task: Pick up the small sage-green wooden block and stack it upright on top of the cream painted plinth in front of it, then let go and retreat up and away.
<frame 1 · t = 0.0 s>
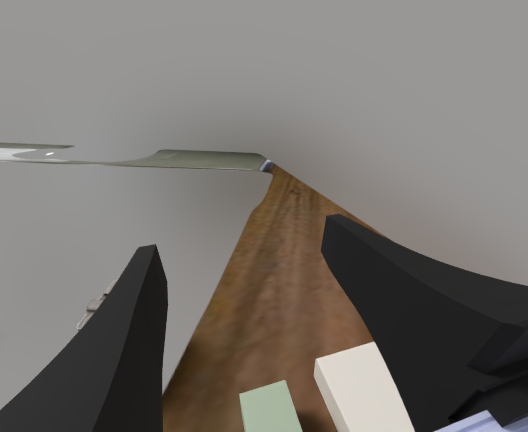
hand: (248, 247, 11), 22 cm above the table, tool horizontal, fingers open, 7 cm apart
lighter: (130, 364, 29), on the table
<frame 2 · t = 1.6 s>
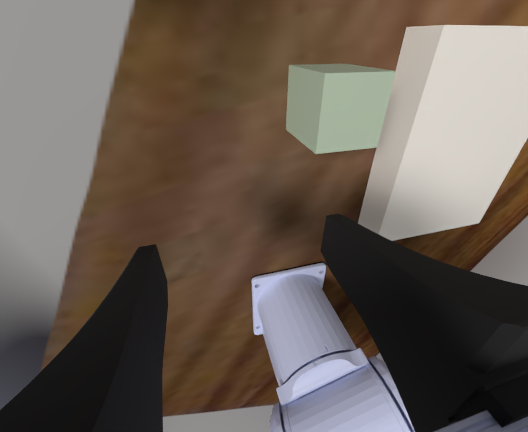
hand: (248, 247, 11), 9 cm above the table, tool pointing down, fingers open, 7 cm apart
base plinth: (436, 140, 23), on the table
green block: (314, 97, 18), on the table
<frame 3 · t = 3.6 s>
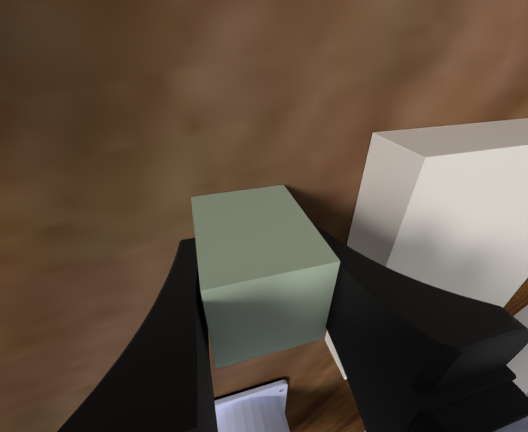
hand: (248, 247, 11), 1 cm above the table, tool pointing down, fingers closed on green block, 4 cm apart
base plinth: (423, 247, 17), on the table
green block: (241, 228, 12), on the table, touching gripper
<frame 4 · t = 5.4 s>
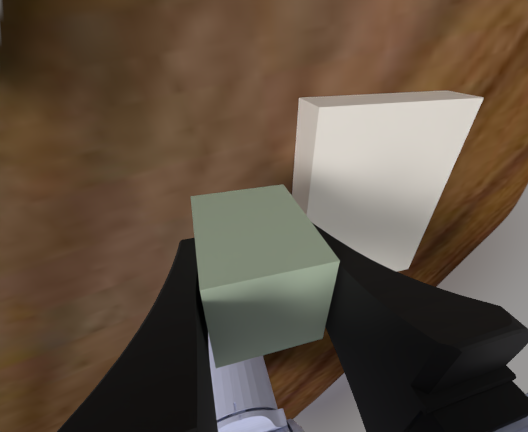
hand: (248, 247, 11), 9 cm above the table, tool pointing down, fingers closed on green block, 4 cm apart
base plinth: (355, 193, 23), on the table
green block: (241, 227, 12), point 7 cm above the table, touching gripper
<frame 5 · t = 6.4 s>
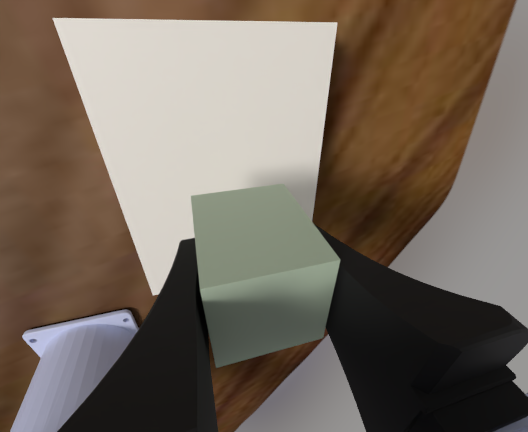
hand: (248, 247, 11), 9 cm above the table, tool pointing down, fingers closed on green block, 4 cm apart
base plinth: (220, 166, 18), on the table
green block: (241, 227, 12), point 7 cm above the table, touching gripper
when the fingers open (5 cm above the table, at t = 7.4 s): green block stays where it is, resting on base plinth.
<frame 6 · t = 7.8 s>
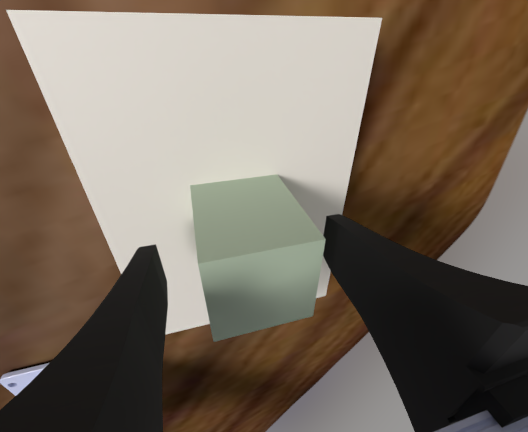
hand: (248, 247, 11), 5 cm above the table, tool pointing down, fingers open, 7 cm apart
base plinth: (227, 189, 15), on the table
green block: (237, 216, 13), point 3 cm above the table, touching base plinth
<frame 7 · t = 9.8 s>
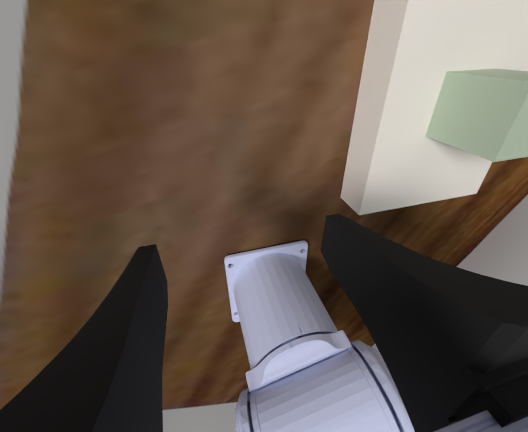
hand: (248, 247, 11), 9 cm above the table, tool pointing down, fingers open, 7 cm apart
base plinth: (425, 96, 20), on the table
green block: (459, 103, 18), point 3 cm above the table, touching base plinth
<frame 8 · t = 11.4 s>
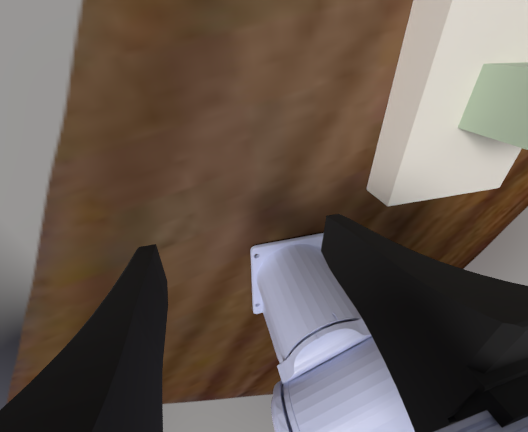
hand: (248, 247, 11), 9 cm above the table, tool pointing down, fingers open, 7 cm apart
base plinth: (455, 90, 21), on the table
green block: (492, 96, 18), point 3 cm above the table, touching base plinth
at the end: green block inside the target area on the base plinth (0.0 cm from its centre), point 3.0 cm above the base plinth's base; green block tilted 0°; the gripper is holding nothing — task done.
